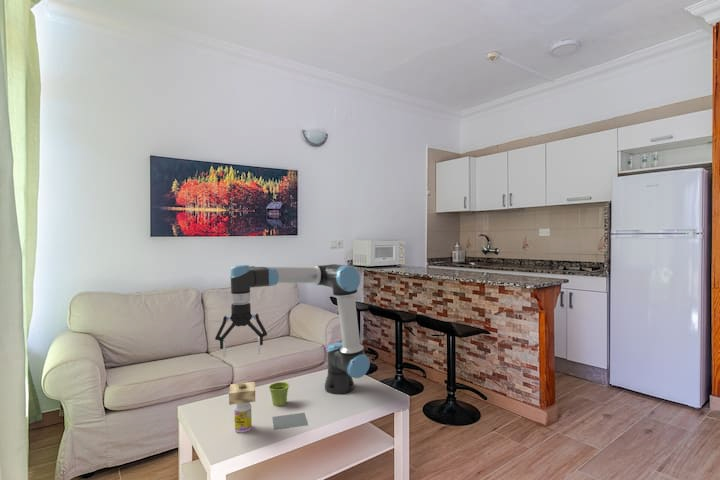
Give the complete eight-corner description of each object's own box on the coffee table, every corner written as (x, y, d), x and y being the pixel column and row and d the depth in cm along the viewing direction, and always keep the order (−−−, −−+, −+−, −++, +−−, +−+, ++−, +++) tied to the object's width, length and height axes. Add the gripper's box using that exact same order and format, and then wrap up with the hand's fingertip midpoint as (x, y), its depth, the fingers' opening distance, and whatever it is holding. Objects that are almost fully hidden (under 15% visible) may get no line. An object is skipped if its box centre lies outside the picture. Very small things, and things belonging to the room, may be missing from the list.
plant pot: (285, 409, 180) (284, 390, 180) (265, 407, 182) (265, 389, 182) (292, 400, 190) (292, 382, 190) (274, 399, 192) (273, 381, 191)
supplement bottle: (231, 431, 161) (230, 400, 160) (241, 424, 167) (241, 394, 167) (245, 434, 158) (244, 402, 158) (255, 426, 164) (254, 396, 164)
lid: (255, 392, 168) (254, 379, 168) (255, 401, 159) (255, 388, 159) (230, 395, 166) (230, 382, 166) (229, 404, 156) (228, 391, 156)
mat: (304, 413, 176) (304, 412, 176) (308, 425, 165) (308, 424, 165) (272, 417, 172) (272, 416, 172) (273, 430, 161) (273, 429, 161)
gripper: (207, 306, 155) (208, 360, 155) (272, 302, 161) (273, 354, 162) (209, 303, 162) (210, 355, 162) (271, 299, 169) (272, 349, 169)
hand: (242, 354), depth 162 cm, fingers open, 13 cm apart
